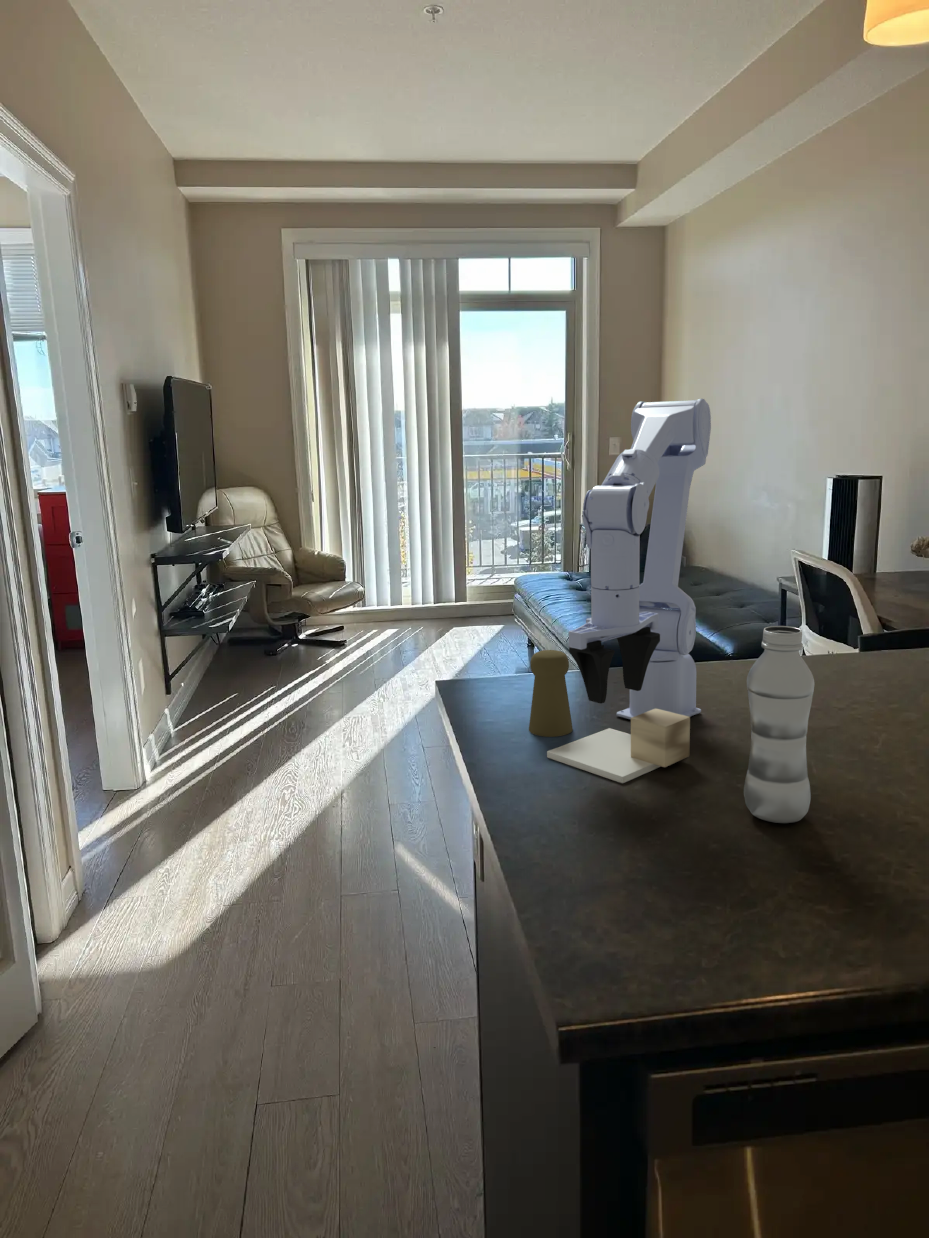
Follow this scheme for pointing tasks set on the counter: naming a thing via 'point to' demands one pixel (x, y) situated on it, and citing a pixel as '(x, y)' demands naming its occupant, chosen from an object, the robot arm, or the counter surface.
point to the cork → (550, 695)
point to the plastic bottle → (779, 728)
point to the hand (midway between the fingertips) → (615, 695)
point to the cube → (660, 737)
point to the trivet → (603, 756)
